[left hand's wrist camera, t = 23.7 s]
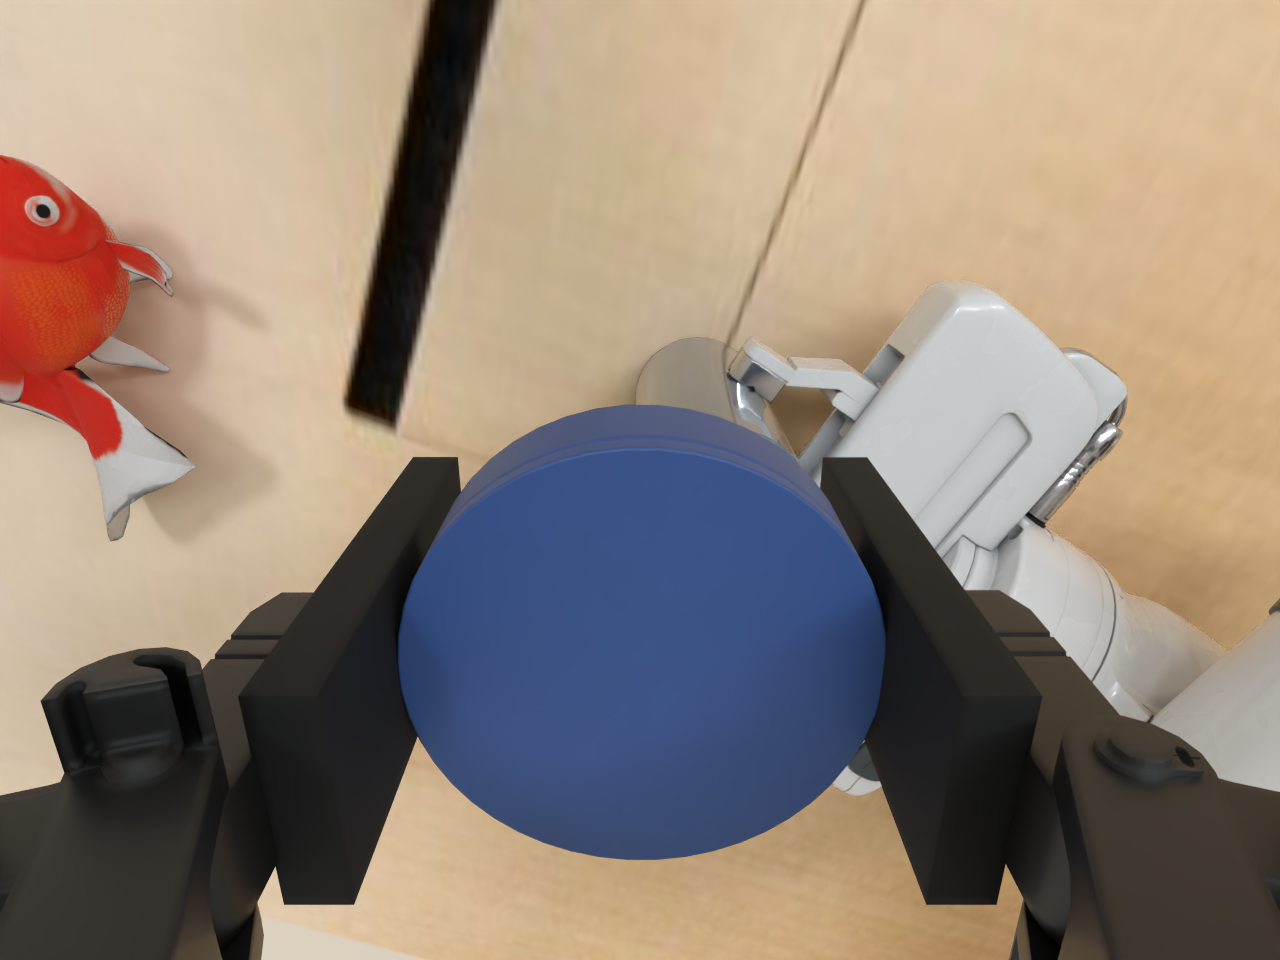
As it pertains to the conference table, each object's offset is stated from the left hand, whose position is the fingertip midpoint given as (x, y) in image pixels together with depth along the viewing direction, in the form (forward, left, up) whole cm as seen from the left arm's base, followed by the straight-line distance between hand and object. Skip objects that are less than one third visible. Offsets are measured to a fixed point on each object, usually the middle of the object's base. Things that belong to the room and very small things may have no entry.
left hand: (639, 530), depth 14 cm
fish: (-11, -19, -23) cm, 32 cm away
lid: (0, 0, +4) cm, 4 cm away
